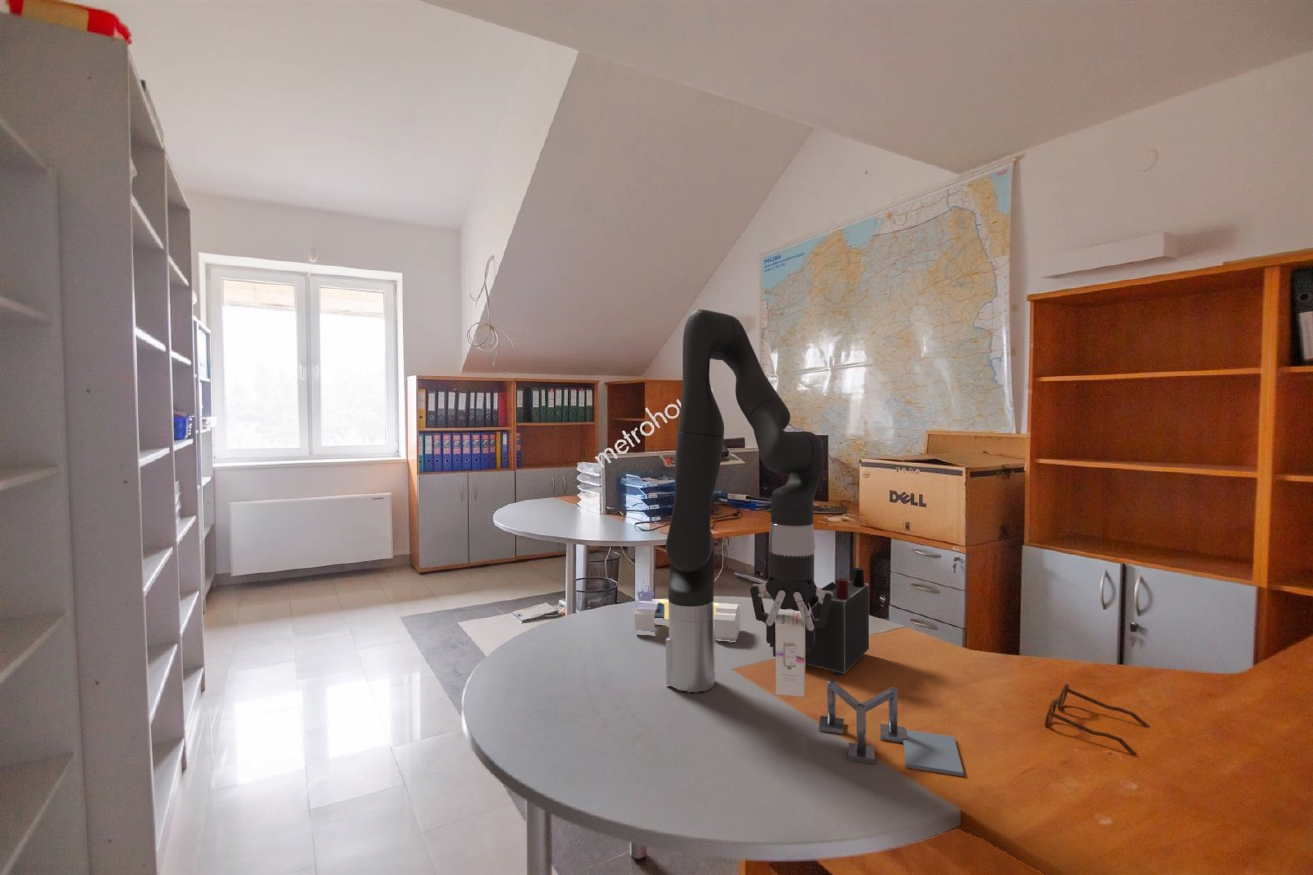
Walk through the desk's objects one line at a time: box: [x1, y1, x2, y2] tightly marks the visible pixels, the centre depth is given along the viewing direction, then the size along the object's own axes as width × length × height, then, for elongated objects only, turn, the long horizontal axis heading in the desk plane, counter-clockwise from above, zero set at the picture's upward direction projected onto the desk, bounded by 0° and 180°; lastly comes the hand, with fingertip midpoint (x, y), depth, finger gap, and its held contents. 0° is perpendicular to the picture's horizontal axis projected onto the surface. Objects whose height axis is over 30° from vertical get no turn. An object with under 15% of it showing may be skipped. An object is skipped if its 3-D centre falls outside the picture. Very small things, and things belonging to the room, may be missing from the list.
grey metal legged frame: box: [818, 679, 907, 765], centre depth 102 cm, size 14×12×8 cm
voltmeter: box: [772, 567, 870, 677], centre depth 138 cm, size 16×16×20 cm
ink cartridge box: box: [775, 605, 806, 698], centre depth 105 cm, size 9×5×15 cm, turn 167°
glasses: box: [1044, 683, 1151, 756], centre depth 106 cm, size 13×13×5 cm
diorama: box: [634, 584, 741, 642], centre depth 156 cm, size 25×10×13 cm, turn 75°
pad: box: [902, 729, 964, 777], centre depth 99 cm, size 8×11×1 cm
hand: (790, 647), depth 105 cm, fingers closed on ink cartridge box, 5 cm apart
